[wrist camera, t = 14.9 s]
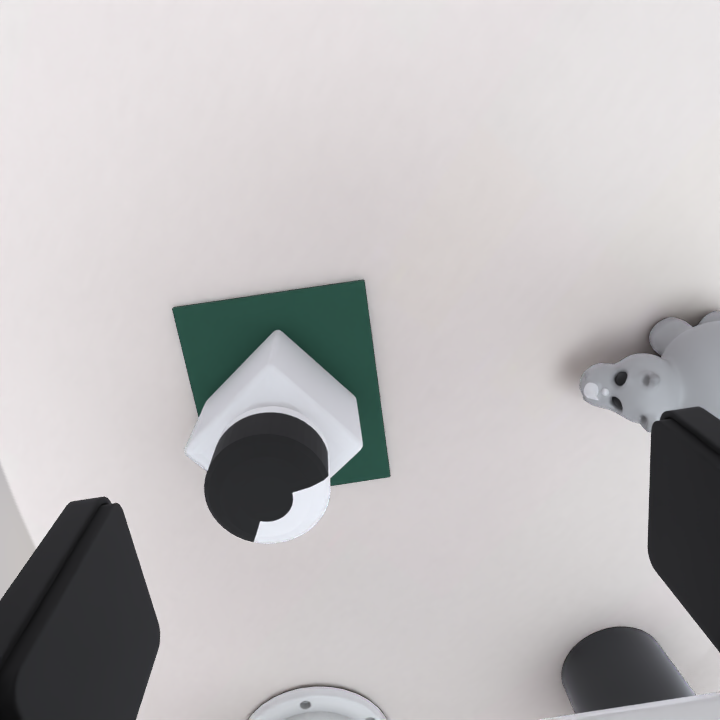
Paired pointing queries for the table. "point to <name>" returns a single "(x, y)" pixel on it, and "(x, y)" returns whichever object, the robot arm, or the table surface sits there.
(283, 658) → the table surface
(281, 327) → the cutting mat
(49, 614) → the robot arm
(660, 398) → the chubby cartoon animal
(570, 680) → the water bottle
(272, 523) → the medicine bottle
